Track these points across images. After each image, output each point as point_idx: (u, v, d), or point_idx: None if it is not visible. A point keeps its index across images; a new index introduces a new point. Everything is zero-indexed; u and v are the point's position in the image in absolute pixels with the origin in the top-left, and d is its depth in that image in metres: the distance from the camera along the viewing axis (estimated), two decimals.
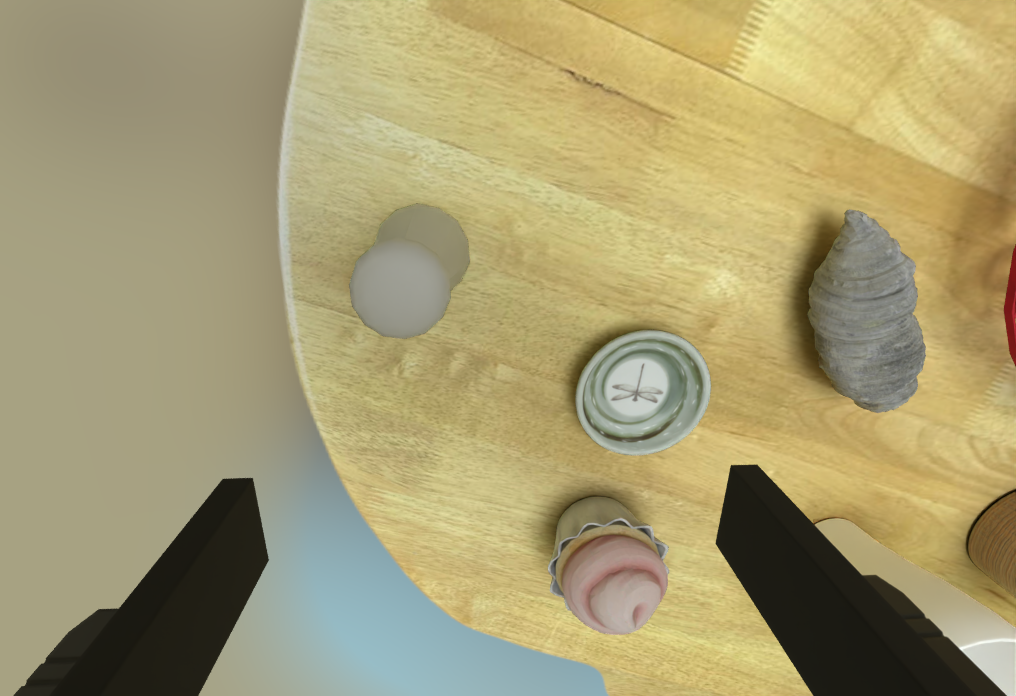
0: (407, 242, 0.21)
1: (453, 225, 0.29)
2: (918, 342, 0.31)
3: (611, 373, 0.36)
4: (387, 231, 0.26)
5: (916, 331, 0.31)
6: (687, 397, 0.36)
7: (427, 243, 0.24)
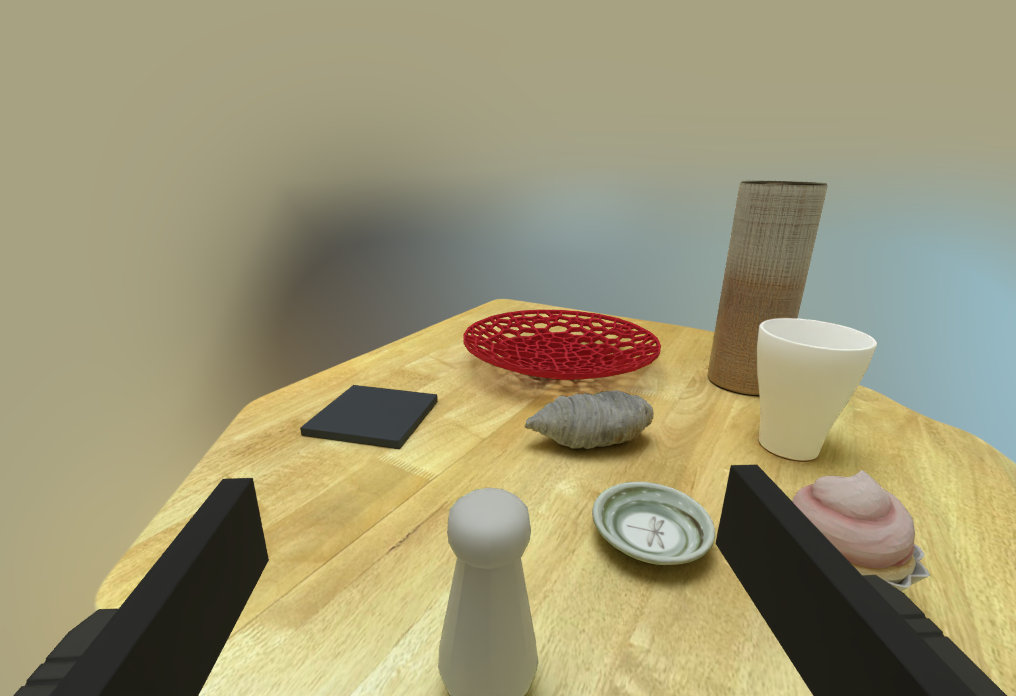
0: None
1: None
2: (601, 392, 0.55)
3: (636, 545, 0.39)
4: (450, 627, 0.27)
5: None
6: (655, 499, 0.44)
7: None
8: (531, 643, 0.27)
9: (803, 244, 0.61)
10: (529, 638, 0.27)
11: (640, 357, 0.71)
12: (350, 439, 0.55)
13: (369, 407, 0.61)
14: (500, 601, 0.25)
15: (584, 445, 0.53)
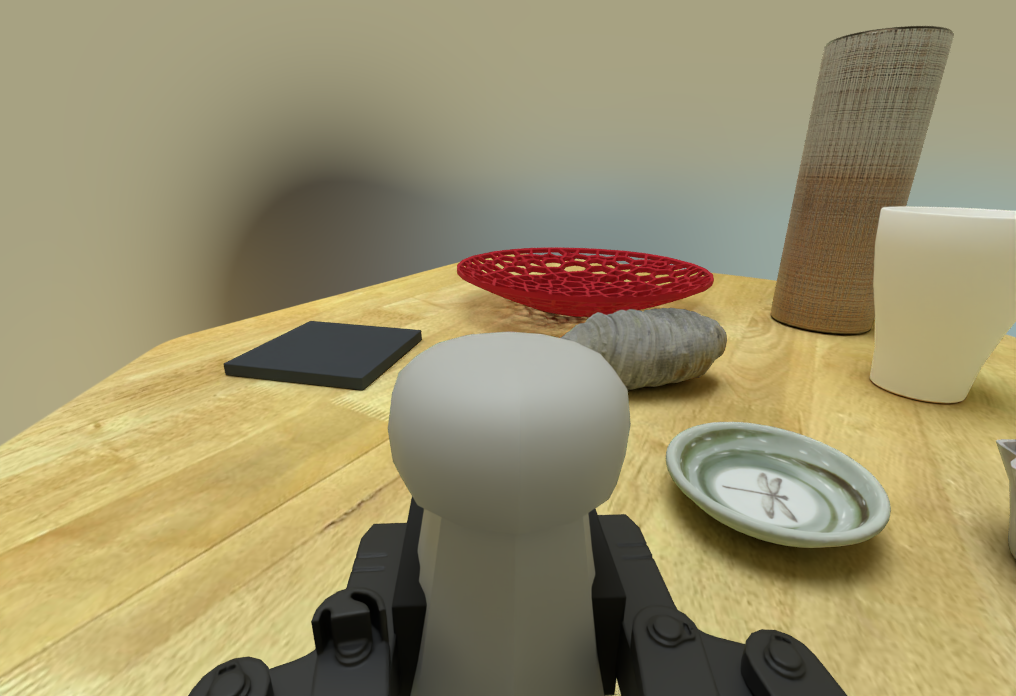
0: None
1: None
2: None
3: (748, 516, 0.23)
4: None
5: None
6: (759, 448, 0.28)
7: None
8: None
9: (919, 118, 0.45)
10: None
11: (687, 289, 0.55)
12: (293, 378, 0.38)
13: (326, 342, 0.44)
14: (544, 632, 0.09)
15: (630, 382, 0.37)
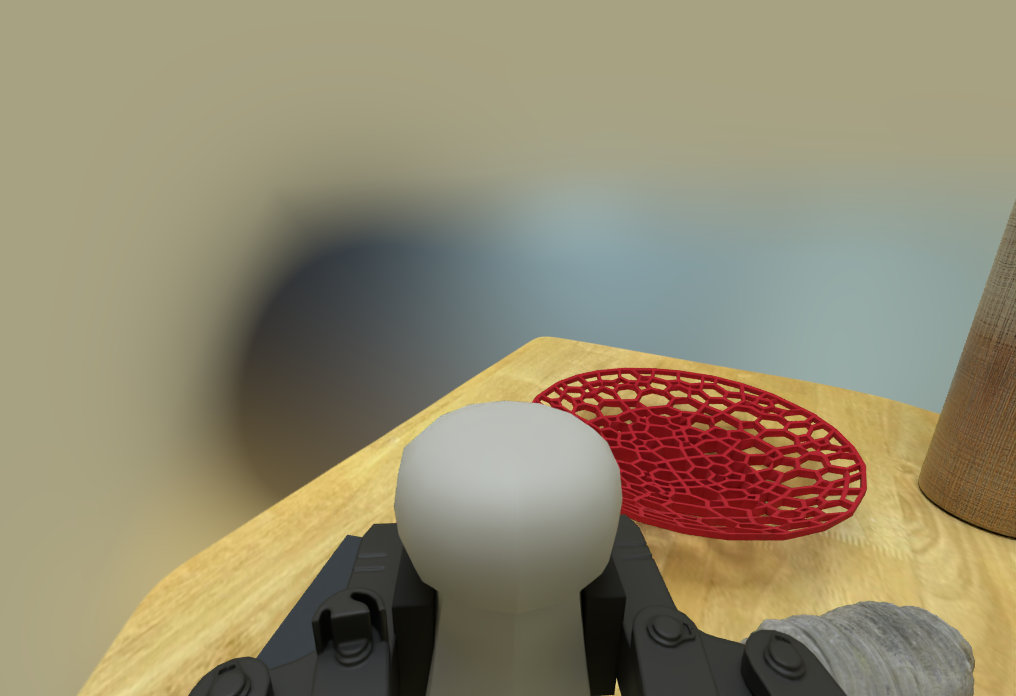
0: None
1: None
2: (859, 609, 0.27)
3: None
4: None
5: (846, 612, 0.27)
6: None
7: None
8: None
9: None
10: None
11: (825, 469, 0.43)
12: None
13: None
14: None
15: None
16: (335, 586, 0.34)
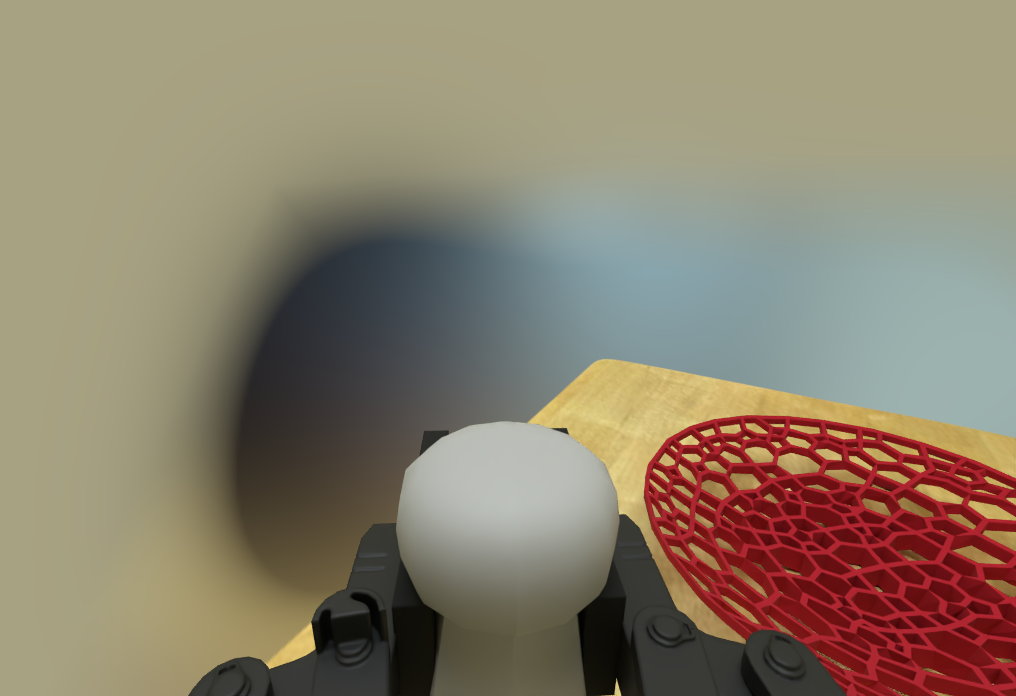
0: None
1: None
2: None
3: None
4: None
5: None
6: None
7: None
8: None
9: None
10: None
11: None
12: None
13: None
14: None
15: None
16: None
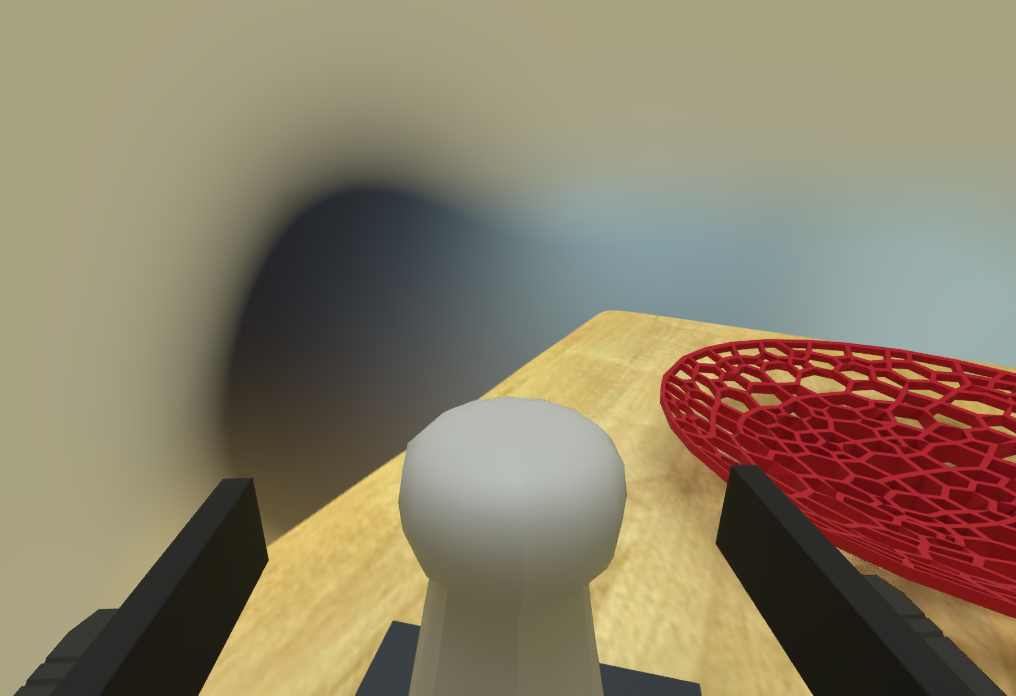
0: None
1: None
2: None
3: None
4: None
5: None
6: None
7: None
8: None
9: None
10: None
11: None
12: None
13: None
14: (546, 692, 0.09)
15: None
16: None
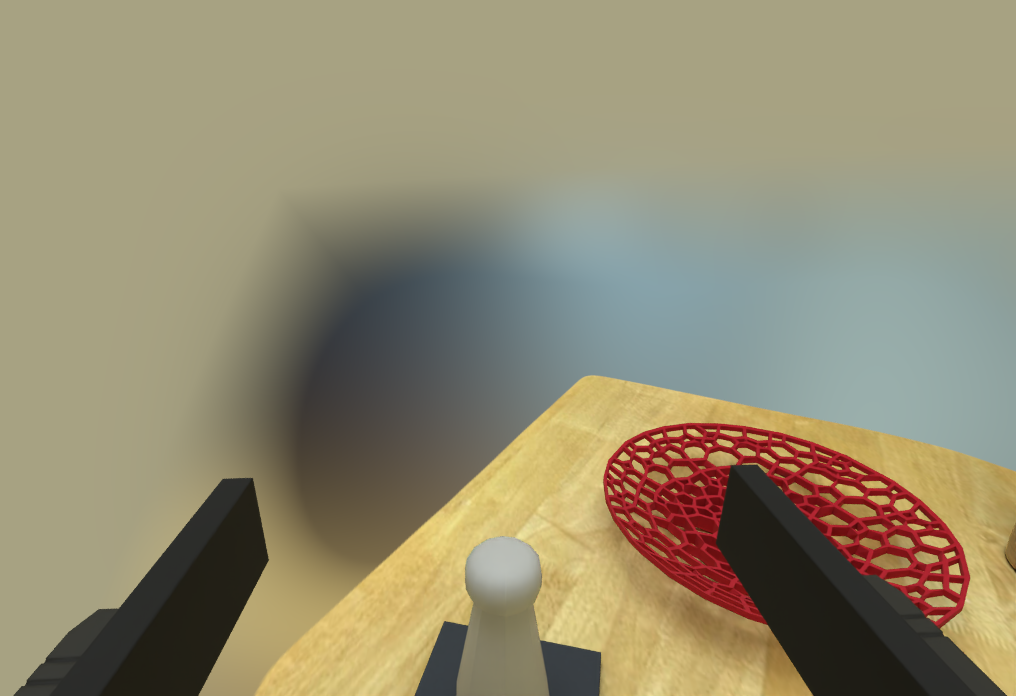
0: None
1: None
2: None
3: None
4: (468, 666, 0.29)
5: None
6: None
7: None
8: (543, 679, 0.29)
9: None
10: (541, 675, 0.29)
11: (917, 548, 0.42)
12: None
13: None
14: (515, 644, 0.27)
15: None
16: (445, 684, 0.34)
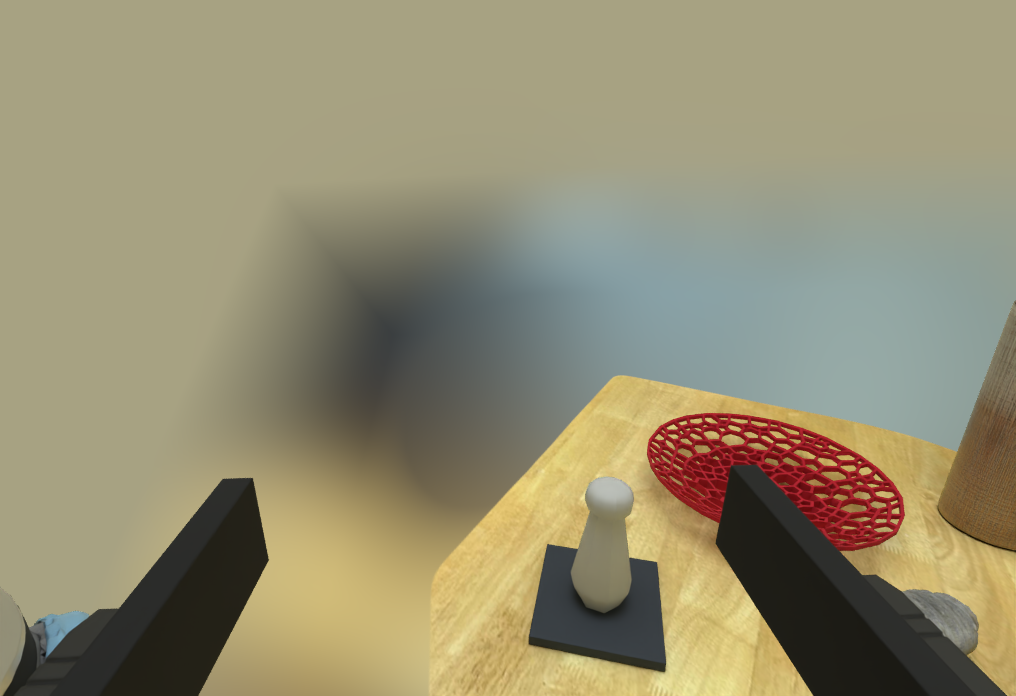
0: None
1: None
2: (908, 594, 0.44)
3: None
4: (584, 557, 0.46)
5: None
6: None
7: None
8: (629, 567, 0.47)
9: None
10: (628, 563, 0.47)
11: (872, 499, 0.60)
12: (597, 655, 0.44)
13: None
14: (617, 540, 0.45)
15: None
16: (557, 578, 0.51)
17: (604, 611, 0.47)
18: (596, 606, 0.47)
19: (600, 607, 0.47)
